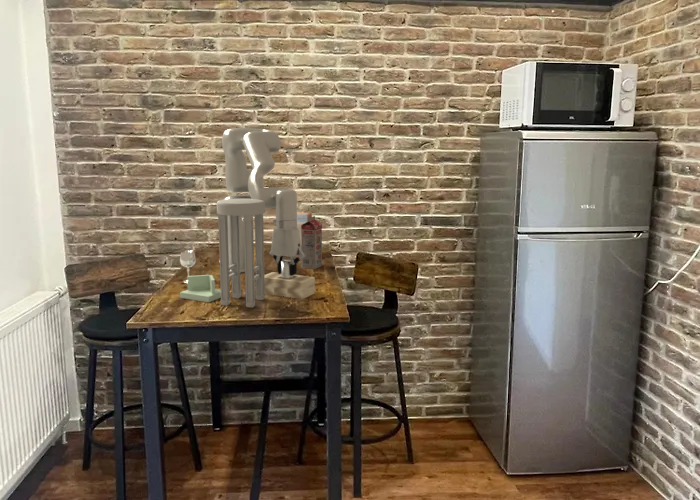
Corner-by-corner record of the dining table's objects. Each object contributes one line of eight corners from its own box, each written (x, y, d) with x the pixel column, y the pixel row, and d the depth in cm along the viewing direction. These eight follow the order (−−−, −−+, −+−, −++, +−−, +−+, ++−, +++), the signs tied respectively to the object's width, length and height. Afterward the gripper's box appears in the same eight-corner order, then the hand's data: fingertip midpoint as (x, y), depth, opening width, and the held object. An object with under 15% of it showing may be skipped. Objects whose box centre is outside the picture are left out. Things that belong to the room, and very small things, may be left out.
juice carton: (301, 267, 254) (301, 217, 250) (308, 264, 260) (308, 215, 256) (315, 268, 252) (315, 218, 248) (321, 265, 258) (321, 216, 254)
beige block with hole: (259, 293, 213) (259, 277, 212) (273, 287, 221) (272, 271, 220) (302, 299, 206) (302, 282, 205) (314, 293, 214) (314, 277, 213)
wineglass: (182, 283, 225) (181, 253, 223) (179, 280, 230) (178, 250, 228) (197, 282, 228) (196, 252, 225) (194, 279, 233) (193, 249, 230)
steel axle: (278, 293, 212) (278, 261, 210) (285, 290, 216) (284, 259, 214) (289, 295, 211) (289, 262, 208) (295, 292, 214) (295, 260, 212)
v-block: (198, 291, 214) (197, 272, 213) (225, 295, 209) (224, 276, 208) (180, 297, 206) (179, 278, 205) (208, 302, 201) (207, 282, 200)
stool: (272, 297, 208) (270, 199, 201) (256, 309, 193) (253, 204, 186) (232, 294, 211) (229, 197, 204) (212, 306, 196) (208, 202, 190)
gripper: (260, 223, 209) (261, 273, 212) (301, 227, 202) (302, 278, 205) (272, 221, 215) (272, 269, 219) (312, 224, 208) (312, 274, 212)
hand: (287, 273), depth 212 cm, fingers closed on steel axle, 4 cm apart
